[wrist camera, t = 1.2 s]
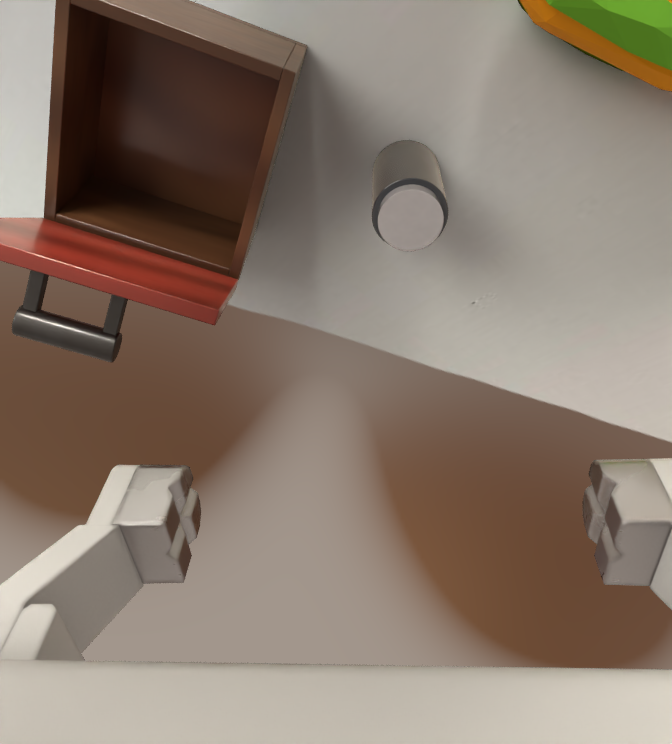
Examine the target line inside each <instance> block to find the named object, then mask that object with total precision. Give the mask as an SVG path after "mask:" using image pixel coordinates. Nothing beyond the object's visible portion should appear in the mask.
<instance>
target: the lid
mask: <svg viewBox="0 0 672 744" xmlns="http://www.w3.org/2000/svg"><path fill="white" fill-rule="evenodd" d="M0 261H3V262H6V263H10V264H13V265H17V266H20V267H23V268H26V269H30V270H31V271H30V276H29V280H28V285H27V289H26V294H25V298H24V303H23V305H22V306H21V307H19V309H18V310H17V312H16V314H15V316H14V319H13V324H12V332H13V334H14V335H16V336H20V337H23V338H27V339H30V340H34V341H38V342H41V343H45V344H48V345H52V346H55V347H59V348H62V349H66V350H69V351H73V352H76V353H80V354H83V355H87V356H90V357H94V358H97V359H101V360H104V361H108V362H113V361H114V360H115V359H116V357H117V355H118V352H119V349H120V345H121V341H122V334H121V333H119V331H120V328H121V324H122V320H123V316H124V312H125V308H126V304H127V301H128V299H129V300H132V301H136V302H139V303H143V304H146V305H149V306H152V307H156V308H159V309H162V310H165V311H169V312H172V313H175V314H179V315H182V316H185V317H188V318H192V319H195V320H198V321H202V322H205V323H208V324H212V325H215V324H216V322H217V321H218V319H219V317H220V316H221V314H222V312H223V310H224V309H225V307H226V305H227V304H228V302H229V300H230V298H231V297H232V295H233V293H234V291H235V290H236V287H237V283H238V279H235V278H232V277H228V276H225V275H222V274H219V273H216V272H213V271H209V270H206V269H203V268H200V267H197V266H194V265H190V264H187V263H184V262H181V261H178V260H175V259H171V258H168V257H165V256H162V255H159V254H156V253H152V252H149V251H146V250H143V249H140V248H137V247H133V246H130V245H127V244H124V243H121V242H118V241H114V240H111V239H108V238H105V237H102V236H99V235H95V234H92V233H89V232H86V231H83V230H80V229H76V228H73V227H70V226H67V225H64V224H61V223H57V222H54V221H51V220H48V219H45V218H0ZM49 275H50V276H53V277H57V278H59V279H63V280H66V281H69V282H73V283H76V284H80V285H83V286H86V287H89V288H92V289H96V290H99V291H102V292H106V293H109V294H112V296H111V300H110V304H109V308H108V312H107V316H106V320H105V324H104V328H101V327H98V326H95V325H91V324H88V323H85V322H81V321H78V320H74V319H71V318H67V317H64V316H61V315H57V314H54V313H50V312H47V311H43V310H41V306H42V303H43V298H44V294H45V290H46V285H47V281H48V276H49Z"/></svg>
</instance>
